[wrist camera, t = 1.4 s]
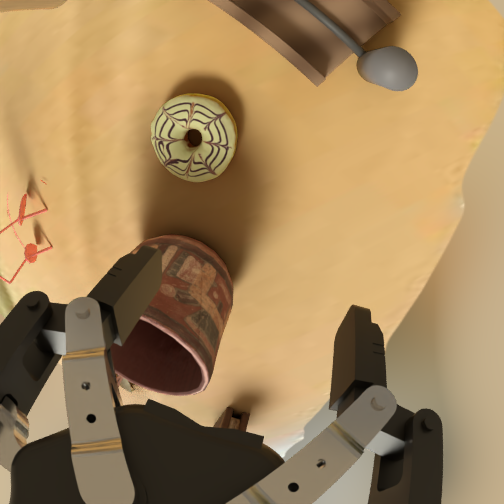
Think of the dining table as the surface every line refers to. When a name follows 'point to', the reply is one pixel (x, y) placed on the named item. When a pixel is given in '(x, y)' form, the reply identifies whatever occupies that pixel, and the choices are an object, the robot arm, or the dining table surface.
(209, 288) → the pottery
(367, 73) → the block with knobbed rod
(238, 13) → the walnut lane
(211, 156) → the decorated donut
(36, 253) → the figurine
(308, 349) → the dining table surface
